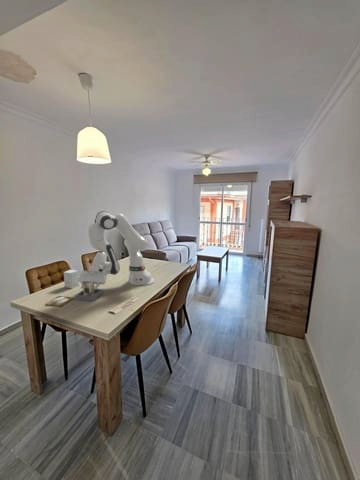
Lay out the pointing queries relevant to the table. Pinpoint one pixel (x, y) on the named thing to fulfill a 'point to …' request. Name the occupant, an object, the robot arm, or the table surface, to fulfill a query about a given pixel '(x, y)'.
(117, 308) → the newspaper
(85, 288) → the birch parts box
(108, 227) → the robot arm
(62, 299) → the walnut board
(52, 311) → the table surface
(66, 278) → the supplement box
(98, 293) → the charcoal bin
